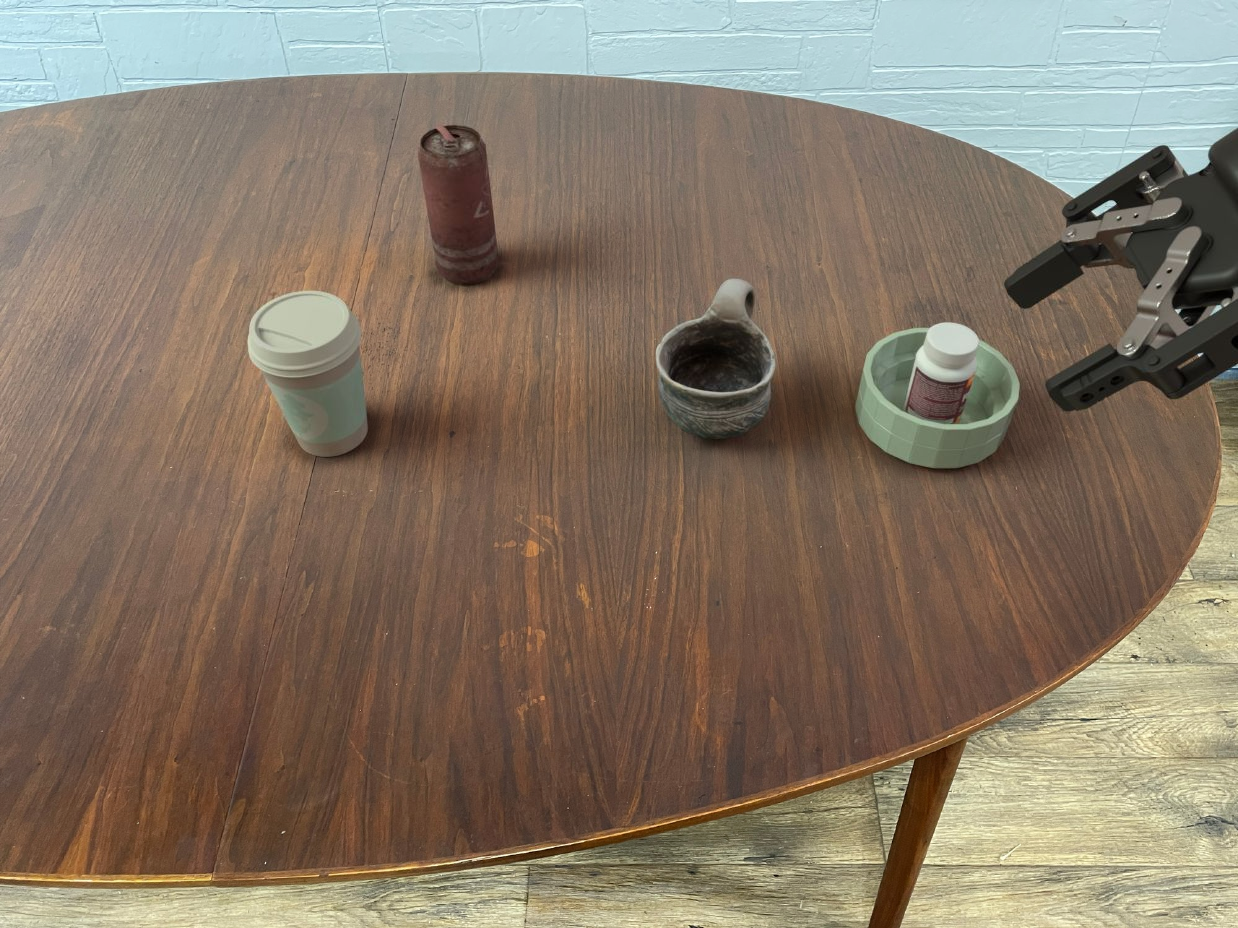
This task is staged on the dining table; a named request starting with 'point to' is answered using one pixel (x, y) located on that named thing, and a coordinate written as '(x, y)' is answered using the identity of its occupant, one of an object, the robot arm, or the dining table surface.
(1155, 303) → the robot arm
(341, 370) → the coffee cup
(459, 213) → the can
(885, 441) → the bowl
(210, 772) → the dining table surface
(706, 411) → the mug
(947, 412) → the pill bottle
